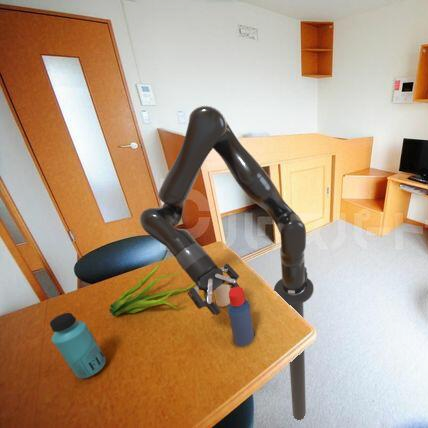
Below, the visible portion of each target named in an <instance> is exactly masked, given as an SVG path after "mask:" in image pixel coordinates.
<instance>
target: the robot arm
mask: <svg viewBox="0 0 428 428" xmlns="http://www.w3.org/2000/svg"><path fill="white" fill-rule="evenodd" d="M184 135H185V136H184V138H183V141H182V145H181V147H180V150H179V152H178V154H177V156H176V157H175V160H174V162H173V163H172V165H171V167H170V168H169V170H168V172H167V174H166V176H165V178H164V180H163V181H162V184H161V185H160V188H159V190H158V194H157V198H158V199H159V200H160V202H162V203H163V204H162V205H161V206H156V207H149V208H146V209H144V210H143V211H142V212H141V213H140V215H139V223H140V226H141V228H142V229H143V230H144V231H145V232H146V233H147V234H148V235H149V236H151V237H152V238H154V239H155V240H156V241H157V242H159V243H160V244H162V245H163V246H165V247H166V248H167V250H168V251H169V252H170V253H171V254H172V256H173V257H174V258H175V260H176V261H177V263H178V265H179V266H180V268H181V270H182V269H183V271H184V272H185V273H186V274H187V275H188V277H189V278H190V279H191V280H192V281H193V282H194V284H195V283H196V285H195V286H194V287H192V288H190V289H189V290H187V295H188V297H189V298H190V299H191V301H192V302H193V304H194V305H195V307H196V308H197V309H199V310H201V309H202V308H207V310H209V312H210V313H211V315H216V316H218V315H220V314H221V313H222V311H221V309H220V308H219V306H218V305H217V304H216V302H214V301H213V293H214V290H215V289H216V288H217V287H219V286H220V285H222V284H224V285H225V284H226V285H230V289H232V288H234V287H241V286H240V285H239V284H238V283H237V281H238V279H239V278H240V275H239V274H238V273H237V271H235V270H234V268H233V267H232V266H231V265H230V264H229V263H225V264H224V265H223V266H222V267H221V268H219V267H218V265H217V264H216V262H215V261H214V259H212V257H211V256H210V255H209V254H208V252H207V251H206V250H205V249H204V248H203V247H202V246H201V245H200V244H199V243H198V242H197V240H196V239H195V238H194V237H193V235H192V234H191V233H190V232H189V231H188V230H187V229H182V228H181V229H180V228H176V227H177V226H178V224H180V222H181V221H182V218H183V216H184V215H183V214H184V211H185V210H184V209H185V203H186V201H187V198H188V197H189V195H190V193H191V191H192V189H193V187H194V184H195V183H196V181H197V178H198V175H199V174H200V171H201V168H202V167H203V164H204V163H205V161H206V159H207V158H208V156H209V154H210V153H211V151H212V150H214V151H215V152H216V153H217V154H218V155H219V157H220V158H221V159H222V161H223V162H224V164H225V166H226V167H227V169H228V170H229V171H228V172H230V174H231V175H232V177H233V179H234V180H235V181H236V183H237V184H238V186H239V187H240V188H241V190H242V191H243V192H244V193H245V194H246V195H247V197H249V199H251V201H253V202H254V203H255V204H256V205H258V206H259V207H260V208H262V209H263V210H265V212H267V214H268V215H269V217H270V218H271V219H272V222H273V223H274V224H275V226H276V228H277V231H278V232H279V234H280V248H279V252H280V253H279V255H280V267H281V279H282V284H283V287H282V288H283V292H284V293H285V294H287V295H289V296H296V295H299V294H301V293H303V292H304V290H305V287H307V278H308V271H307V267H306V265H305V250H306V248H307V247H306V246H307V228H306V226H305V223H304V222H303V220H302V219H301V217H300V216H299V215H298V214H297V212H295V211H294V210H293V209H292V208H291V207H290V206H289V205H288V204H287V202H286V201H285V200H284V199H283V197H282V195H281V194H280V192H279V190H278V188H277V186H276V185H275V183H274V182H273V180H272V179H271V177H270V176H269V175H268V173H267V172H266V171H265V169H264V168H263V167H262V166H261V164H260V163H259V162H258V161H257V160H256V159H255V157H254V156H253V155H252V154H251V153H250V152H249V151H248V150H247V149H246V148H245V147H244V146H243V145H242V143H241V142H240V141H239V139H238V138H237V136H236V135H235V133H234V132H233V130H232V128H231V127H230V125H229V122H227V120H226V118H225V116H224V114H223V113H222V112H221V111H220V110H219V109H217V108H216V107H213V106H210V105H201V106H198V107H196V108H194V109H193V110H192V111H191V112H190V114H189V118H188V124H187V128H186V132H185V134H184ZM224 274H227V276H226V275H224ZM199 291H203V298H202V297H201V295H200V294H199Z"/></svg>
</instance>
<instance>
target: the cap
mask: <svg viewBox="0 0 428 428" xmlns="http://www.w3.org/2000/svg"><path fill="white" fill-rule="evenodd" d="M229 299H230V304H231V305H232V306H235V307H236V306H240V305H242V304H243V303H244V301H245V299H246V298H245V292H244V288H243V287H241V286H240V287H234V288H230V291H229Z"/></svg>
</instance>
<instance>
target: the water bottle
mask: <svg viewBox="0 0 428 428" xmlns="http://www.w3.org/2000/svg"><path fill="white" fill-rule="evenodd" d="M227 306H228V307H227V314H228V319H229V324H230V328H231V334H232V339H233V343H234V344H235V346H237V347H245V346H248V345H249V344H251V343H252V341H254V338H255V331H254V323H253V317H252V311H251V304H250V302H249V301H248V300H247V299H246V298H245V301H244V303H243V304H242V305H240V306H236V307H235V306H232V305H231V304H228V305H227Z"/></svg>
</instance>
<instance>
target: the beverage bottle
mask: <svg viewBox="0 0 428 428" xmlns="http://www.w3.org/2000/svg"><path fill="white" fill-rule="evenodd" d="M49 326H50V328H51V329H50V330H52V332H53V334H52V336H51V340H50V341H51V342H52V344H53V345H54V346H55V347H56V349H57V350H58V352H59V354H61V356H62V357H63V359H64V360H65V361H64V362H65V363H66V365H67V366H68V367H69V369H70V370H71V372H72V374H73V375H74V376H75V377H77V378H78V379H88V378H89V377H92V376H95V375H96V374H97V373H99V372H100V371H101V370H102V369H103V368H104V366H105V364H106V363H107V362H106V355H105V354H104V351H103V349H102V348H101V346H100V345H99V343H98V341H96V340H97V339H96V338H95V336H94V334H93V333H92V331H91V329H90V328H89V327H88V326H87V323H86V322H85V321H82V320H77V318H76V317H75V316H74V315H73V313H72V312H64V313H61V314H59V315H57V316H55V317H54V318H53V319H51V321H50V322H49Z"/></svg>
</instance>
